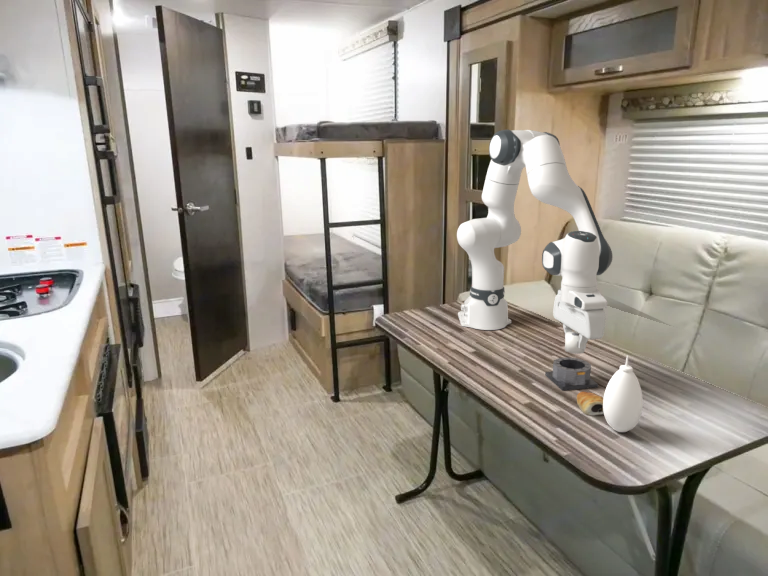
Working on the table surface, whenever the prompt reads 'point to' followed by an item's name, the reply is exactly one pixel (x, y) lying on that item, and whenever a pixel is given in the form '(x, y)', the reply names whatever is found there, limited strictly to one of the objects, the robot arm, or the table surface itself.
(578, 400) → the pastry
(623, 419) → the white air blower bulb
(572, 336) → the cylinder with grey knob
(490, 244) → the robot arm
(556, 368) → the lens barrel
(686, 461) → the table surface
